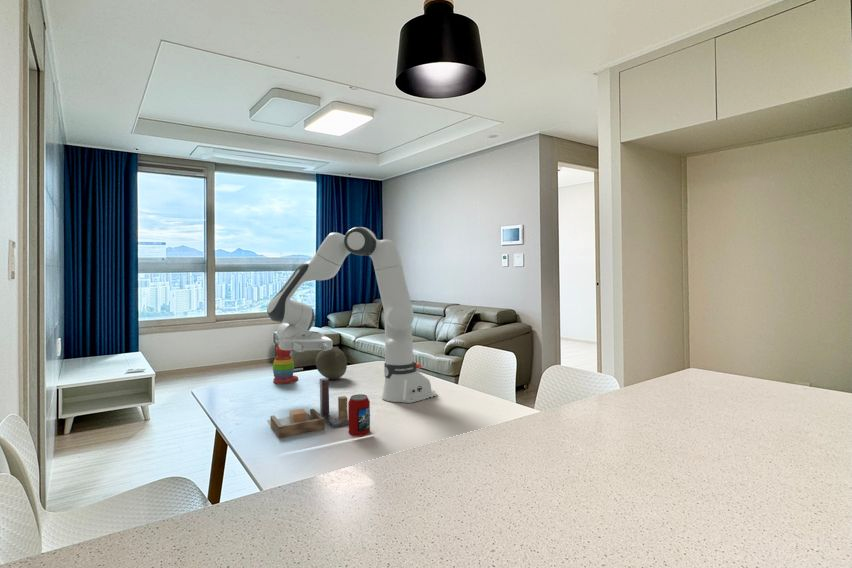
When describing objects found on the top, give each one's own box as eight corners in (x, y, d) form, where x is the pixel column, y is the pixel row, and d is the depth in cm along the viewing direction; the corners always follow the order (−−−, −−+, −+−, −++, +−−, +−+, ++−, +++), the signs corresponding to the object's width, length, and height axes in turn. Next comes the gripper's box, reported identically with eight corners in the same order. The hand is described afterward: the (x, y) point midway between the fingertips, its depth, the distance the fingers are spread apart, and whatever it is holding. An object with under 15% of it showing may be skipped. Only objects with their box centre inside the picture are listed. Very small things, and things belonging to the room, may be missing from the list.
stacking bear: (299, 378, 217) (298, 341, 217) (291, 384, 207) (290, 345, 207) (277, 378, 219) (276, 341, 218) (268, 384, 208) (267, 344, 208)
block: (303, 421, 157) (303, 408, 157) (307, 425, 153) (306, 412, 153) (289, 424, 155) (289, 410, 155) (293, 428, 151) (293, 414, 151)
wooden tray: (308, 415, 166) (308, 403, 166) (324, 431, 150) (324, 418, 149) (266, 422, 159) (266, 410, 158) (279, 440, 142) (278, 427, 142)
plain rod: (345, 418, 162) (344, 395, 161) (347, 420, 160) (347, 397, 159) (338, 419, 161) (338, 397, 160) (340, 421, 159) (340, 398, 158)
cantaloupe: (332, 374, 226) (332, 343, 225) (353, 378, 218) (353, 346, 217) (309, 380, 215) (309, 348, 214) (331, 385, 206) (330, 351, 206)
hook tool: (342, 414, 166) (342, 375, 166) (356, 425, 155) (355, 384, 154) (320, 418, 162) (319, 378, 161) (332, 430, 151) (331, 387, 150)
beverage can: (366, 438, 143) (365, 400, 143) (345, 437, 145) (344, 399, 144) (372, 430, 150) (372, 394, 149) (353, 429, 151) (352, 393, 151)
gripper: (274, 331, 174) (287, 340, 163) (324, 332, 187) (339, 340, 176) (272, 348, 175) (285, 357, 164) (322, 347, 187) (337, 356, 176)
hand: (314, 348), depth 170 cm, fingers open, 8 cm apart
